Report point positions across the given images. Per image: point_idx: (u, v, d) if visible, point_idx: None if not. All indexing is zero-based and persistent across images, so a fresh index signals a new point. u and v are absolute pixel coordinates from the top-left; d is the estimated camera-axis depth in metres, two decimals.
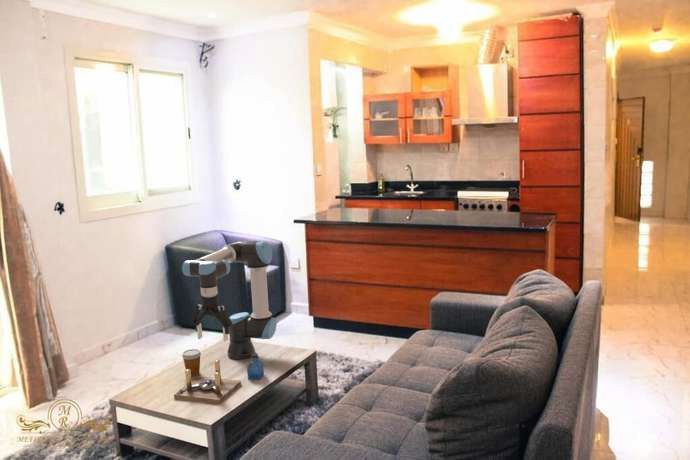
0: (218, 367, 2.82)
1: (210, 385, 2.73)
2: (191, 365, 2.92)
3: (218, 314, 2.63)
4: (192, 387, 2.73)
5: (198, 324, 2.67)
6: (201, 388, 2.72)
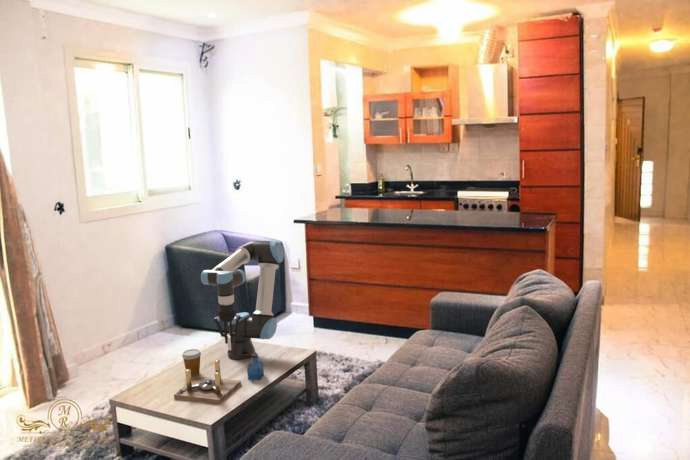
0: (218, 367, 2.82)
1: (210, 385, 2.73)
2: (191, 365, 2.92)
3: None
4: (192, 387, 2.73)
5: (229, 335, 2.81)
6: (201, 388, 2.72)
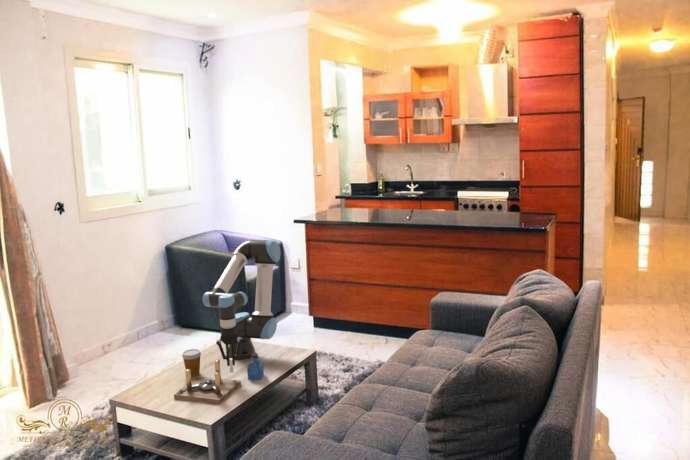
0: (218, 367, 2.82)
1: (210, 385, 2.73)
2: (191, 365, 2.92)
3: None
4: (192, 387, 2.73)
5: (231, 357, 2.83)
6: (201, 388, 2.72)
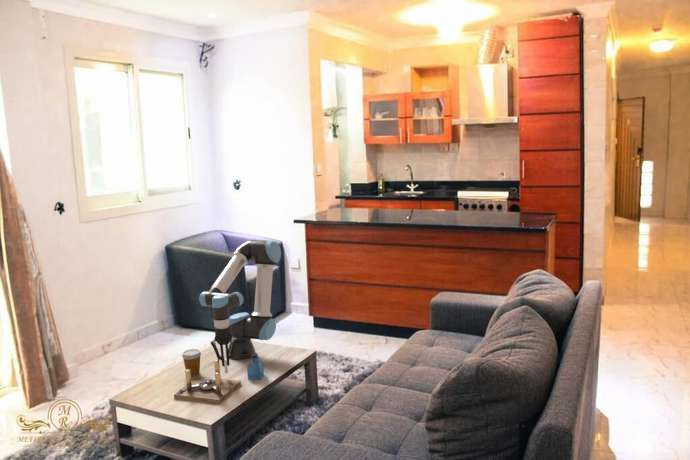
0: (218, 367, 2.82)
1: (210, 385, 2.73)
2: (191, 365, 2.92)
3: (220, 346, 2.82)
4: (192, 387, 2.73)
5: (226, 358, 2.83)
6: (201, 388, 2.72)
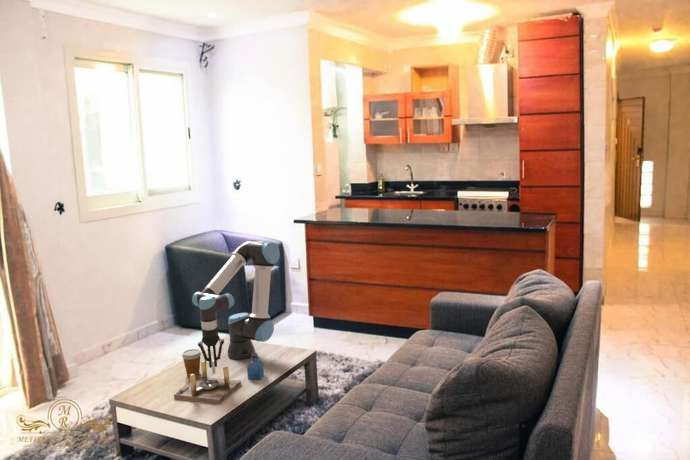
0: (206, 367, 2.82)
1: (214, 383, 2.74)
2: (191, 365, 2.92)
3: None
4: (197, 391, 2.69)
5: None
6: (207, 389, 2.71)
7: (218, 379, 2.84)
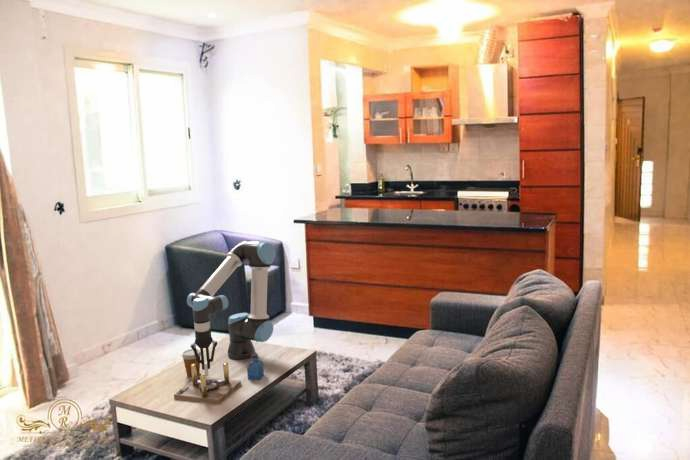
0: None
1: (214, 382, 2.76)
2: None
3: None
4: (206, 391, 2.68)
5: None
6: (213, 387, 2.72)
7: (218, 379, 2.84)
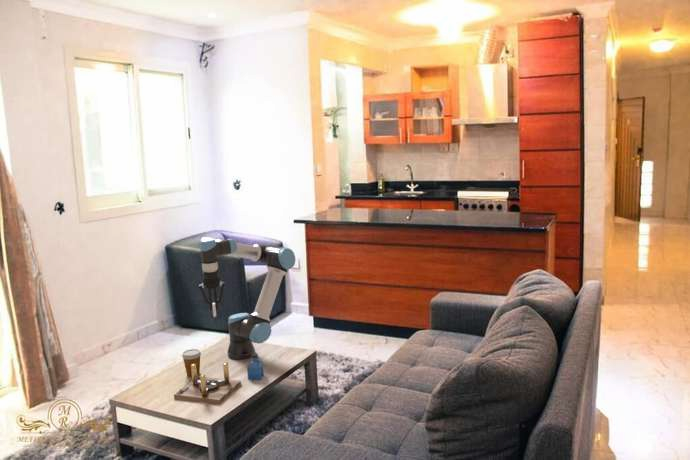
0: None
1: (214, 382, 2.76)
2: None
3: None
4: (206, 391, 2.68)
5: None
6: (213, 387, 2.72)
7: (218, 379, 2.84)
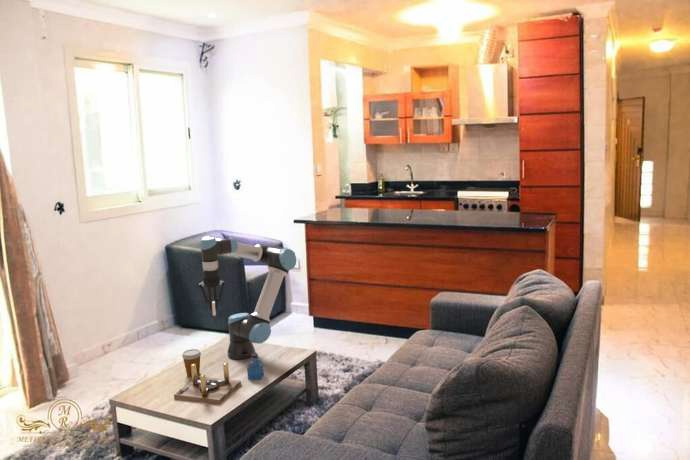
0: None
1: (214, 382, 2.76)
2: None
3: (208, 289, 2.86)
4: (206, 391, 2.68)
5: None
6: (213, 387, 2.72)
7: (218, 379, 2.84)
